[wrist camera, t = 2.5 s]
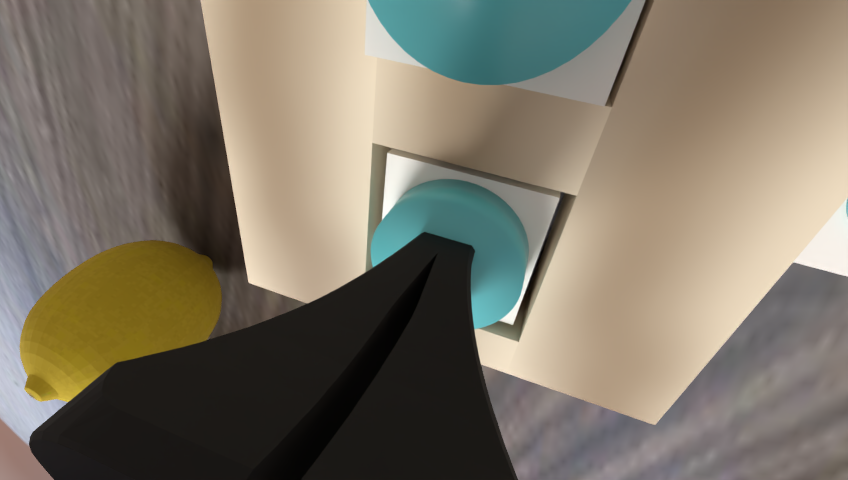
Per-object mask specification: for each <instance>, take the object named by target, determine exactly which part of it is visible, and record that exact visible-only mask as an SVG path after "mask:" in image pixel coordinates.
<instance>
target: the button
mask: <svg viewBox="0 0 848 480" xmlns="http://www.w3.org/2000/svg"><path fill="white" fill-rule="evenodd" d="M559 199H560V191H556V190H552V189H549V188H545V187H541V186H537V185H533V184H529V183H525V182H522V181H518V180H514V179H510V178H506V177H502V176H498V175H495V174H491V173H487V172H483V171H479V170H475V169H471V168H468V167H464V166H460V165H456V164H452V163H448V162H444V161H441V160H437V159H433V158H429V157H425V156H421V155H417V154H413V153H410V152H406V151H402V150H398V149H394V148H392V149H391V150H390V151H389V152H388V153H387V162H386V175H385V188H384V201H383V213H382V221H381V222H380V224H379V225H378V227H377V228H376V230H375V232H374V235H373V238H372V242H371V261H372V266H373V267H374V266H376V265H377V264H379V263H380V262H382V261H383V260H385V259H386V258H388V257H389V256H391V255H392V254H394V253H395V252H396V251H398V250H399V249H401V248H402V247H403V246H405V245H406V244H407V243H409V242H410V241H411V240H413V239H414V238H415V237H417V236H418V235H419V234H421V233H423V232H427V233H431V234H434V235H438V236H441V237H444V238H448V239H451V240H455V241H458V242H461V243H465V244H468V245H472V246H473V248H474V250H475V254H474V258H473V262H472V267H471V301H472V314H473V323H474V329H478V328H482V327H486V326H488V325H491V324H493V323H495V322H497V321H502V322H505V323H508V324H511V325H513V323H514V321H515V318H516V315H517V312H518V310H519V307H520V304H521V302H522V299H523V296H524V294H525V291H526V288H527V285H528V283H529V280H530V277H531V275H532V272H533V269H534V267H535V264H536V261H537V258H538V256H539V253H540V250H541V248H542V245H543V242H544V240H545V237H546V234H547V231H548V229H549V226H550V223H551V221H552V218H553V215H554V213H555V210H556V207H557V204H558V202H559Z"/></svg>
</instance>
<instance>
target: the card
mask: <svg viewBox="0 0 848 480" xmlns="http://www.w3.org/2000/svg"><path fill="white" fill-rule="evenodd" d="M794 262H795V263H798V264H802V265H806V266H810V267H814V268H817V269H821V270H825V271H829V272H833V273H836V274H840V275H844V276H848V198H847V199H846V200H845V201H844V202H843V204H842V205H841V206H840V207H839V208H838V210H837V211H836V212H835V213H834V214H833V215H832V217H831V218H830V219H829V220H828V221H827V223H826V224H825V225H824V226H823V227H822V228H821V230H820V231H819V232H818V233H817V234H816V236H815V237H814V238H813V239H812V240H811V241H810V243H809V244H808V245H807V246H806V247H805V249H804V250H803V251H802V252H801V253H800V254H799V256H798V257H797V258H796V259H795V260H794Z"/></svg>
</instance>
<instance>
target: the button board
mask: <svg viewBox="0 0 848 480" xmlns="http://www.w3.org/2000/svg"><path fill="white" fill-rule="evenodd" d="M366 3H367V0H201V5H202V11H203V17H204V23H205V29H206V35H207V40H208V46H209V52H210V58H211V64H212V70H213V76H214V82H215V88H216V93H217V99H218V105H219V111H220V117H221V123H222V129H223V135H224V140H225V146H226V152H227V158H228V164H229V170H230V176H231V182H232V188H233V193H234V199H235V205H236V211H237V217H238V223H239V229H240V235H241V241H242V246H243V252H244V258H245V264H246V270H247V276H248V282H249V283H251V284H253V285H256V286H259V287H262V288H265V289H268V290H271V291H273V292H276V293H279V294H282V295H285V296H288V297H291V298H293V299H296V300H299V301H302V302H305V303H310V302H312V301H314V300H316V299H318V298H320V297H322V296H324V295H326V294H328V293H330V292H332V291H334V290H336V289H338V288H339V287H341V286H343V285H345V284H346V283H348V282H350V281H351V280H353V279H355V278H357V277H358V276H360V275H362V274H363V273H365V272H367V271H368V270H370V269H371V268H373V266H372V261H371V242H372V238H373V235H374V232H375V230H376V228H377V227H378V225H379V224H380V222H381V221H382V213H383V201H384V188H385V175H386V162H387V153H388V152H389V151H390V150H391V149H392V148H394V149H398V150H402V151H406V152H410V153H413V154H417V155H421V156H425V157H429V158H433V159H437V160H441V161H444V162H448V163H452V164H456V165H460V166H464V167H468V168H471V169H475V170H479V171H483V172H487V173H491V174H495V175H498V176H502V177H506V178H510V179H514V180H518V181H522V182H525V183H529V184H533V185H537V186H541V187H545V188H549V189H552V190H556V191H560V199H559V202H558V204H557V207H556V210H555V213H554V215H553V218H552V221H551V223H550V226H549V229H548V231H547V234H546V237H545V240H544V242H543V245H542V248H541V250H540V253H539V256H538V258H537V261H536V264H535V267H534V269H533V272H532V275H531V277H530V280H529V283H528V285H527V288H526V291H525V294H524V296H523V299H522V302H521V304H520V307H519V310H518V312H517V315H516V318H515V321H514V323H513V325H511V324H508V323H505V322H502V321H497V322H495V323H493V324H491V325H488V326H486V327H482V328H478V329H474V330H475V337H476V343H477V348H478V353H479V358H480V363H481V364H482V365H485V366H488V367H490V368H493V369H496V370H499V371H502V372H505V373H508V374H510V375H513V376H516V377H519V378H522V379H525V380H528V381H530V382H533V383H536V384H539V385H542V386H545V387H548V388H550V389H553V390H556V391H559V392H562V393H565V394H568V395H570V396H573V397H576V398H579V399H582V400H585V401H587V402H590V403H593V404H596V405H599V406H602V407H605V408H607V409H610V410H613V411H616V412H619V413H622V414H625V415H627V416H630V417H633V418H636V419H639V420H642V421H645V422H647V423H650V424H653V425H655V424H656V423H657V422H658V421H659V420H660V419H661V417H662V416H663V415H664V414H665V413H666V411H667V410H668V409H669V408H670V407H671V406H672V404H673V403H674V402H675V401H676V400H677V398H678V397H679V396H680V395H681V394H682V393H683V391H684V390H685V389H686V388H687V387H688V385H689V384H690V383H691V382H692V381H693V380H694V378H695V377H696V376H697V375H698V374H699V372H700V371H701V370H702V369H703V368H704V367H705V365H706V364H707V363H708V362H709V361H710V359H711V358H712V357H713V356H714V355H715V354H716V352H717V351H718V350H719V349H720V348H721V347H722V345H723V344H724V343H725V342H726V341H727V339H728V338H729V337H730V336H731V335H732V334H733V332H734V331H735V330H736V329H737V328H738V326H739V325H740V324H741V323H742V322H743V321H744V319H745V318H746V317H747V316H748V315H749V313H750V312H751V311H752V310H753V309H754V308H755V306H756V305H757V304H758V303H759V302H760V300H761V299H762V298H763V297H764V296H765V295H766V293H767V292H768V291H769V290H770V289H771V287H772V286H773V285H774V284H775V283H776V282H777V280H778V279H779V278H780V277H781V276H782V274H783V273H784V272H785V271H786V270H787V269H788V267H789V266H790V265H791V264H792V263H793V262H794V260H795V259H796V258H797V257H798V256H799V254H800V253H801V252H802V251H803V250H804V249H805V247H806V246H807V245H808V244H809V243H810V241H811V240H812V239H813V238H814V237H815V236H816V234H817V233H818V232H819V231H820V230H821V228H822V227H823V226H824V225H825V224H826V223H827V221H828V220H829V219H830V218H831V217H832V215H833V214H834V213H835V212H836V211H837V210H838V208H839V207H840V206H841V205H842V204H843V202H844V201H845V200H846V199H847V198H848V0H645V3H644V6H643V8H642V11H641V13H640V16H639V19H638V21H637V24H636V26H635V29H634V31H633V34H632V37H631V39H630V42H629V44H628V47H627V50H626V52H625V55H624V57H623V60H622V63H621V65H620V68H619V70H618V73H617V76H616V78H615V81H614V83H613V86H612V89H611V91H610V94H609V96H608V99H607V101H606V104H605V107H604V106H600V105H595V104H591V103H586V102H581V101H577V100H572V99H567V98H563V97H558V96H554V95H549V94H544V93H540V92H535V91H530V90H526V89H521V88H517V87H512V86H507V85H478V84H471V83H464V82H460V81H457V80H454V79H450V78H447V77H445V76H443V75H440V74H438V73H436V72H434V71H432V70H430V69H428V68H424V67H419V66H415V65H410V64H405V63H401V62H396V61H391V60H387V59H382V58H378V57H373V56H368V55H365V30H366Z"/></svg>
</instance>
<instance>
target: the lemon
mask: <svg viewBox="0 0 848 480" xmlns="http://www.w3.org/2000/svg"><path fill="white" fill-rule="evenodd" d="M221 301H222V293H221V287H220V283H219V280H218V278H217V276H216V274H215V272H214V270H213V263H212V260H211V259H210V258H209V257H208V256H206V255H200V254H197V253H196V252H194V251H192V250H191V249H188V248H186V247H184V246H181V245H179V244H175V243H171V242H165V241H156V240H150V241H139V242H133V243H127V244H123V245H120V246H116V247H114V248H111V249H108V250H106V251H104V252H102V253H99V254H97V255H95V256H94V257H92V258H90V259H88V260H87V261H85V262H83V263H82V264H80V265H79V266H77V267H76V268H74V269H73V270H71V271H70V272H69V273H67V274H66V275H65V276H63V277H62V278H61V279H60V280H59V281H57V282H56V283H55V284H54V285H53V286H52V287H51V288H50V289H49V290H48V291H47V292H45V294H44V295H43V296H42V297H41V298H40V299H39V300H38V301H37V302H36V304H35V305H34V307H33V308H32V309H31V311H30V312H29V314H28V316H27V318H26V320H25V323H24V326H23V330H22V334H21V339H20V357H21V360H22V363H23V366H24V369H25V372H26V374H27V376H28V378H27V381H26V385H25V388H24V389H25V391H26V392H27V393H28V394H29V395H30V396H31V397H33V398H34V399H36V400H38V401H41V402H42V401H48V400H53V399H59V400H62V401H66V402H69V401H70V400H71V399H73V398H74V397H75V396H76V395H77V394H79V393H80V392H81V391H82V390H83V389H85V388H86V387H87V386H88V385H89V384H91V383H92V382H93V381H94V380H95V379H97V378H98V377H99V376H100V375H101V374H103V373H104V372H105V371H106V370H108V369H109V368H110V367H111V366H113V365H114V364H115V363H117V362H121V361H126V360H130V359H135V358H139V357H143V356H147V355H151V354H156V353H160V352H164V351H168V350H172V349H176V348H181V347H185V346H188V345H192V344H196V343H199V342H203V341H206V340H207V339H208V337H209V336H210V334H211V332H212V331H213V329H214V327H215V325H216V323H217V321H218V318H219V315H220V311H221Z"/></svg>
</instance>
